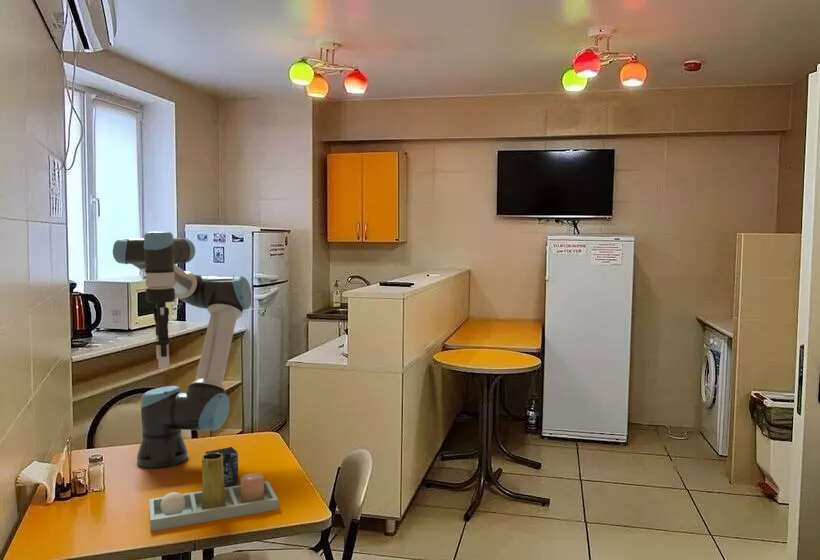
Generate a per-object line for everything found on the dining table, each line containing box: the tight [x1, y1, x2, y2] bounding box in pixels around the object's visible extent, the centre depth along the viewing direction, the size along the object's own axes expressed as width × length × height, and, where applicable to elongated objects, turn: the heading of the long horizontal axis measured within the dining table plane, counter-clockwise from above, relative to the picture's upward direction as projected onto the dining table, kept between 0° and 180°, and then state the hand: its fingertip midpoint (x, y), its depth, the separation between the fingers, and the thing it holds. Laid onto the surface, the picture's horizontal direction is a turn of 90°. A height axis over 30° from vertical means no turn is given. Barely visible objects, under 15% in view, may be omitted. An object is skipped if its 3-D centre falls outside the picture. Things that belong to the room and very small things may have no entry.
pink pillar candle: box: [240, 472, 265, 503], centre depth 172 cm, size 6×6×7 cm
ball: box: [160, 491, 185, 516], centre depth 164 cm, size 6×6×6 cm
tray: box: [149, 480, 279, 532], centre depth 169 cm, size 13×31×4 cm, turn 113°
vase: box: [201, 453, 226, 510], centre depth 168 cm, size 6×6×14 cm
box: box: [205, 446, 239, 487], centre depth 185 cm, size 8×6×11 cm
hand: (162, 363), depth 180 cm, fingers open, 13 cm apart
